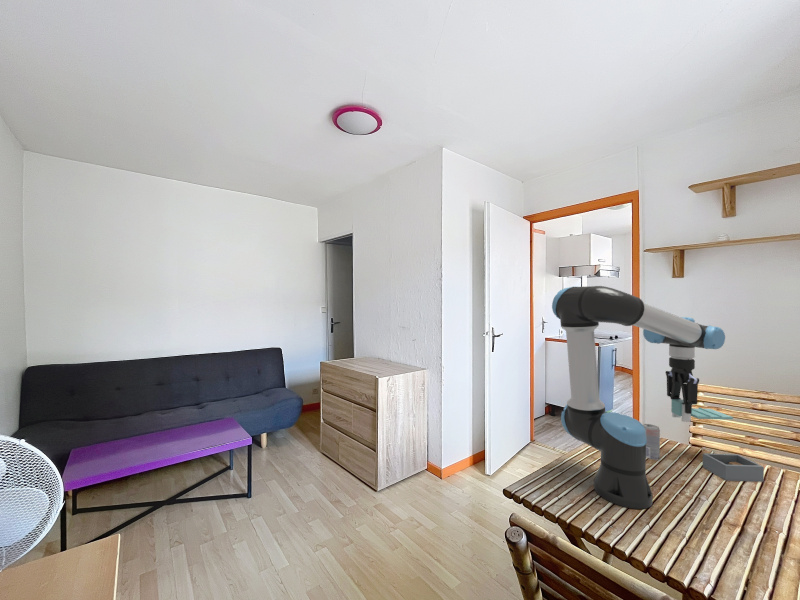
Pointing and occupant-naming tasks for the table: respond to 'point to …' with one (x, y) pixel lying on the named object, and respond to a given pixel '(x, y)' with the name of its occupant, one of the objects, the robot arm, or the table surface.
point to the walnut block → (734, 463)
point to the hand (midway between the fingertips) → (681, 419)
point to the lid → (698, 411)
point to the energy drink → (652, 441)
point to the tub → (733, 467)
